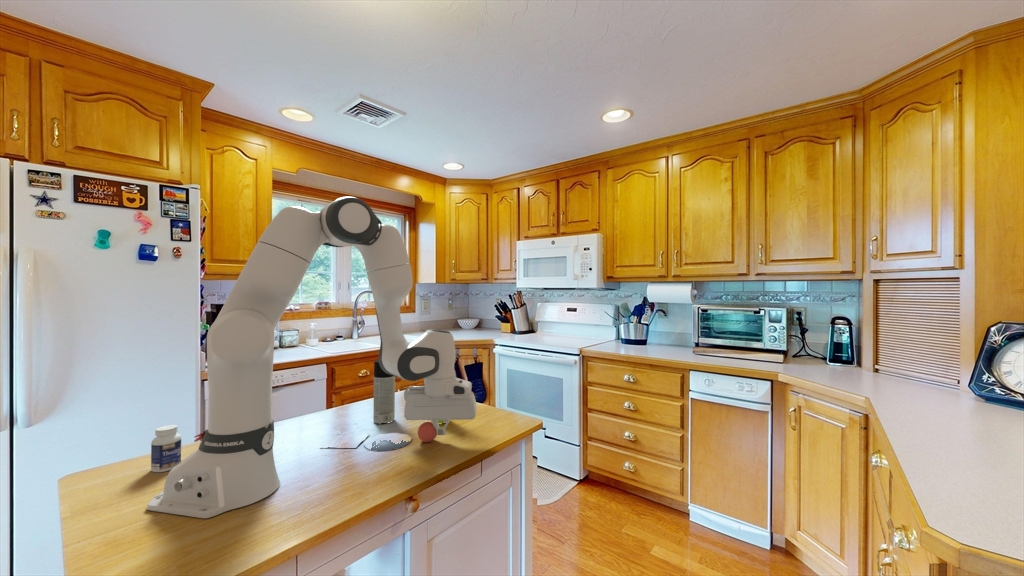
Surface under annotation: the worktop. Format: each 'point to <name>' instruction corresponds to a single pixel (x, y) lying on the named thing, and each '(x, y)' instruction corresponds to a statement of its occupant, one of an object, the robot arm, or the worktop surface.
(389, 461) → the worktop surface
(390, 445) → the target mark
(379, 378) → the spray can
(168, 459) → the pill bottle
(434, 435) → the ball
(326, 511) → the worktop surface
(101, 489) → the worktop surface
